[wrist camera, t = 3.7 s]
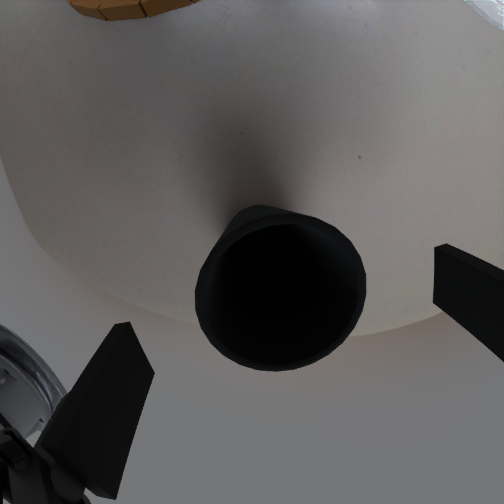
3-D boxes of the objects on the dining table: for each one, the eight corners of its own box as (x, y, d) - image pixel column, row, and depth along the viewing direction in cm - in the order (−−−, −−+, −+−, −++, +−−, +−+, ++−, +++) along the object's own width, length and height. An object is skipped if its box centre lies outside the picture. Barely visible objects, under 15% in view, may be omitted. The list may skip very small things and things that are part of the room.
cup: (320, 215, 23) (395, 258, 12) (281, 294, 25) (315, 386, 13) (235, 176, 22) (238, 182, 10) (199, 261, 24) (172, 342, 12)
